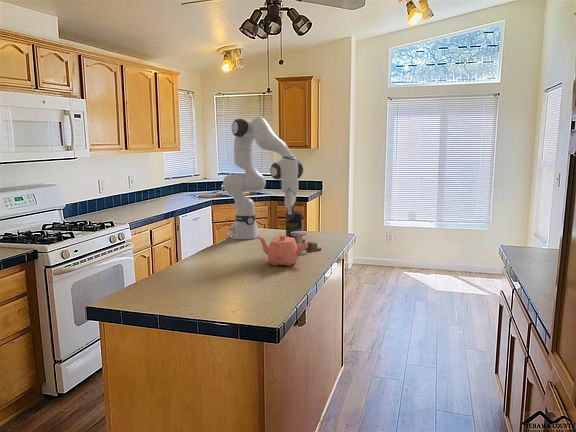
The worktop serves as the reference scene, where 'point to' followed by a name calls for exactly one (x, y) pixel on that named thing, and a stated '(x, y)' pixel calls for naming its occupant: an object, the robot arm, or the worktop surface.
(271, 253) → the teapot
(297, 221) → the canister
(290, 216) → the cylinder
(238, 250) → the worktop surface
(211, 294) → the worktop surface
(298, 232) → the bobbin
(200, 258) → the worktop surface
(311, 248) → the board
